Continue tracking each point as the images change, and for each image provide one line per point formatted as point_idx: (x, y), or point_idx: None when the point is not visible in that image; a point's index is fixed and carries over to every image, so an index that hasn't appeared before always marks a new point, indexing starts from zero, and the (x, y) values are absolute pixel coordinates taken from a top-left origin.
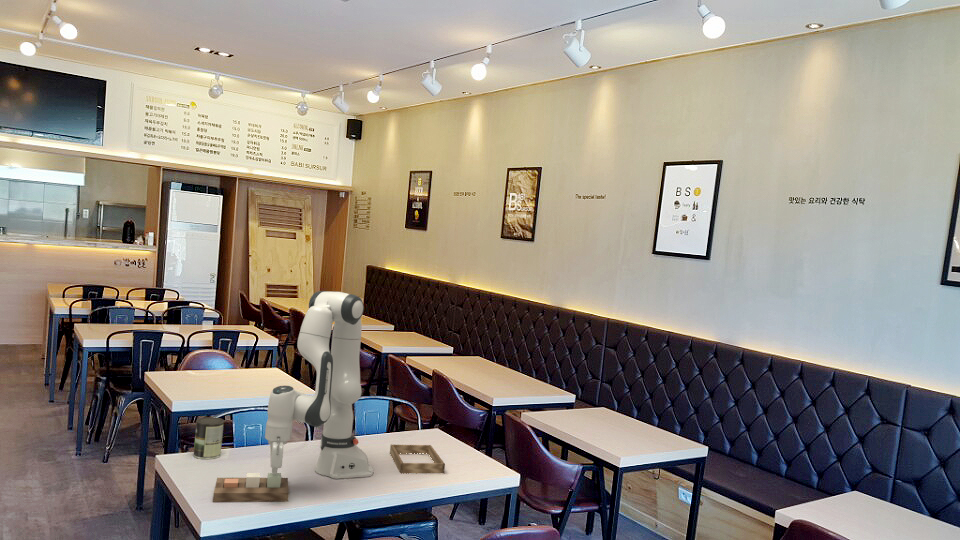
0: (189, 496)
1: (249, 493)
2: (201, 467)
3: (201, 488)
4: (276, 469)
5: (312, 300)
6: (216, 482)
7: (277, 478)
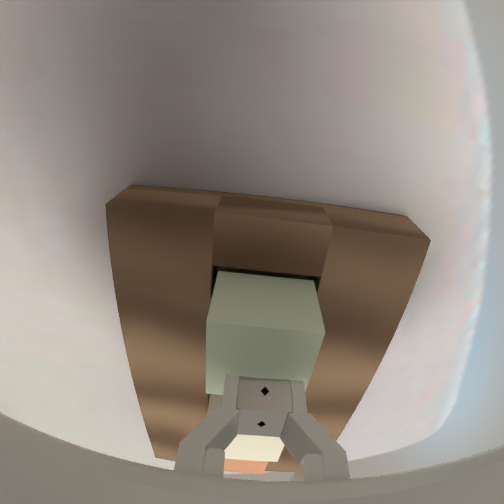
0: None
1: (355, 406)
2: (27, 416)
3: None
4: (304, 413)
5: None
6: None
7: (318, 346)
